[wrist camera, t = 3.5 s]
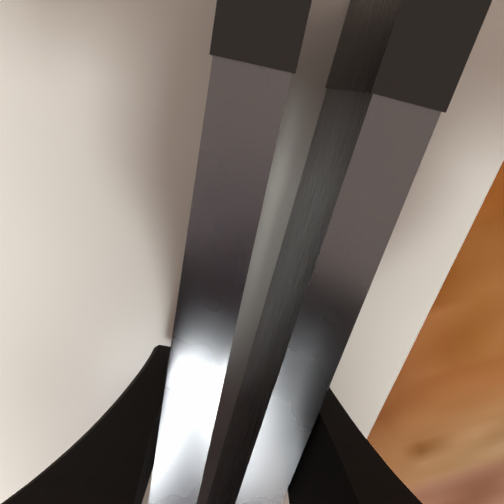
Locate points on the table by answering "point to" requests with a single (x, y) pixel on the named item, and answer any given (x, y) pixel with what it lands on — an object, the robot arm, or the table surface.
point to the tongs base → (341, 225)
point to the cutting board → (183, 211)
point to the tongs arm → (223, 225)
